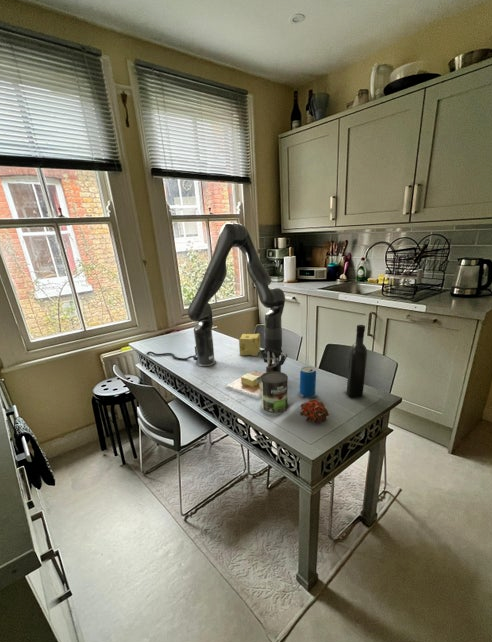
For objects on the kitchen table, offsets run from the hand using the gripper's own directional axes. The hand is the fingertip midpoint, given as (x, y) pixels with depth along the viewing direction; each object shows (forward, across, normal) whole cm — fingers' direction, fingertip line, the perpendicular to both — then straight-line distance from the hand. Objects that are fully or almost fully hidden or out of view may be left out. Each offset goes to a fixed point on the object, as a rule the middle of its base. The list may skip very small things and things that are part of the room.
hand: (273, 372), depth 143 cm
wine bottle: (+5, -34, -10) cm, 36 cm away
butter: (+4, +7, +8) cm, 12 cm away
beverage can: (+6, -18, +1) cm, 19 cm away
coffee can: (+6, -13, +18) cm, 23 cm away
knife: (+1, 0, +4) cm, 4 cm away
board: (+6, +6, +6) cm, 10 cm away
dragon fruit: (+5, -29, +16) cm, 34 cm away
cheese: (+6, +34, -24) cm, 42 cm away
